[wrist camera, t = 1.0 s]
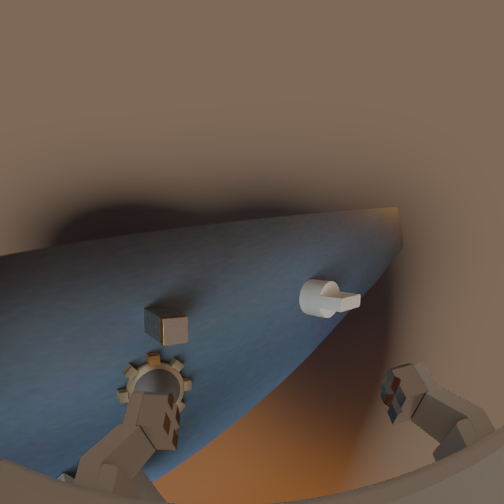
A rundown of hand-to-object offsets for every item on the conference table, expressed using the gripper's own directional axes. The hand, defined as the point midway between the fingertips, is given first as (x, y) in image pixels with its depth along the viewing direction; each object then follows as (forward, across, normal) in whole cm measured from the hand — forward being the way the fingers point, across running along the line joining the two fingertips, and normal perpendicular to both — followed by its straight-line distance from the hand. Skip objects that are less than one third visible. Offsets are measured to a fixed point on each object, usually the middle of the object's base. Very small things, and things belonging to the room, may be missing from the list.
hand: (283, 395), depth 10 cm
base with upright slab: (+55, -14, +34) cm, 66 cm away
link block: (+32, +17, +20) cm, 42 cm away
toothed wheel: (+26, +19, +32) cm, 46 cm away
